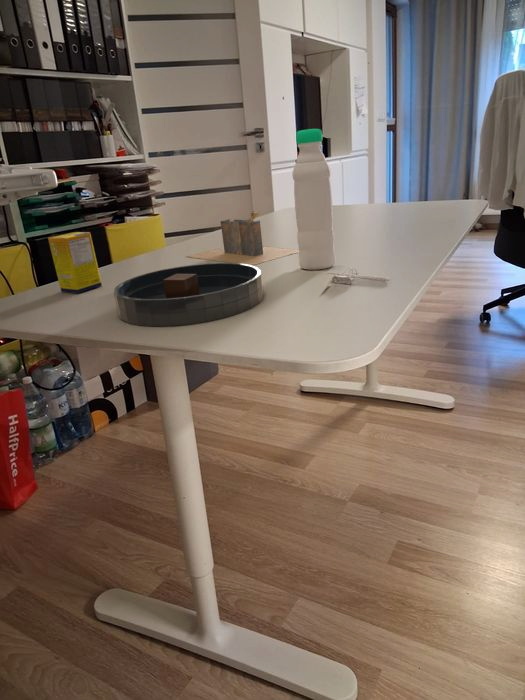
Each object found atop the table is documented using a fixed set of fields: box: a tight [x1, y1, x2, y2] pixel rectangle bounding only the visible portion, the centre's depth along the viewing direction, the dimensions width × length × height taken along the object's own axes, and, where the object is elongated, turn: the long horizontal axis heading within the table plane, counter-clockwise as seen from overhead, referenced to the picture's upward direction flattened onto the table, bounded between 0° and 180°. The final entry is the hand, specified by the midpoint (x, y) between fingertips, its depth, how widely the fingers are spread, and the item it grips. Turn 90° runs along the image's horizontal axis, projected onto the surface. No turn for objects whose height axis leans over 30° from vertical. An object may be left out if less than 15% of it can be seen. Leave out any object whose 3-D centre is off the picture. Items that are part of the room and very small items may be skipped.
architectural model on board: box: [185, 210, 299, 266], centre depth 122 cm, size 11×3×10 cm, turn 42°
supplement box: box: [47, 231, 103, 294], centre depth 103 cm, size 6×6×11 cm
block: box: [163, 274, 200, 299], centre depth 86 cm, size 4×4×4 cm
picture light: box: [324, 267, 391, 285], centre depth 89 cm, size 14×4×2 cm, turn 46°
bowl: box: [113, 262, 264, 327], centre depth 84 cm, size 23×23×4 cm
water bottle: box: [292, 128, 336, 271], centre depth 98 cm, size 7×7×25 cm
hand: (24, 181), depth 105 cm, fingers open, 8 cm apart
